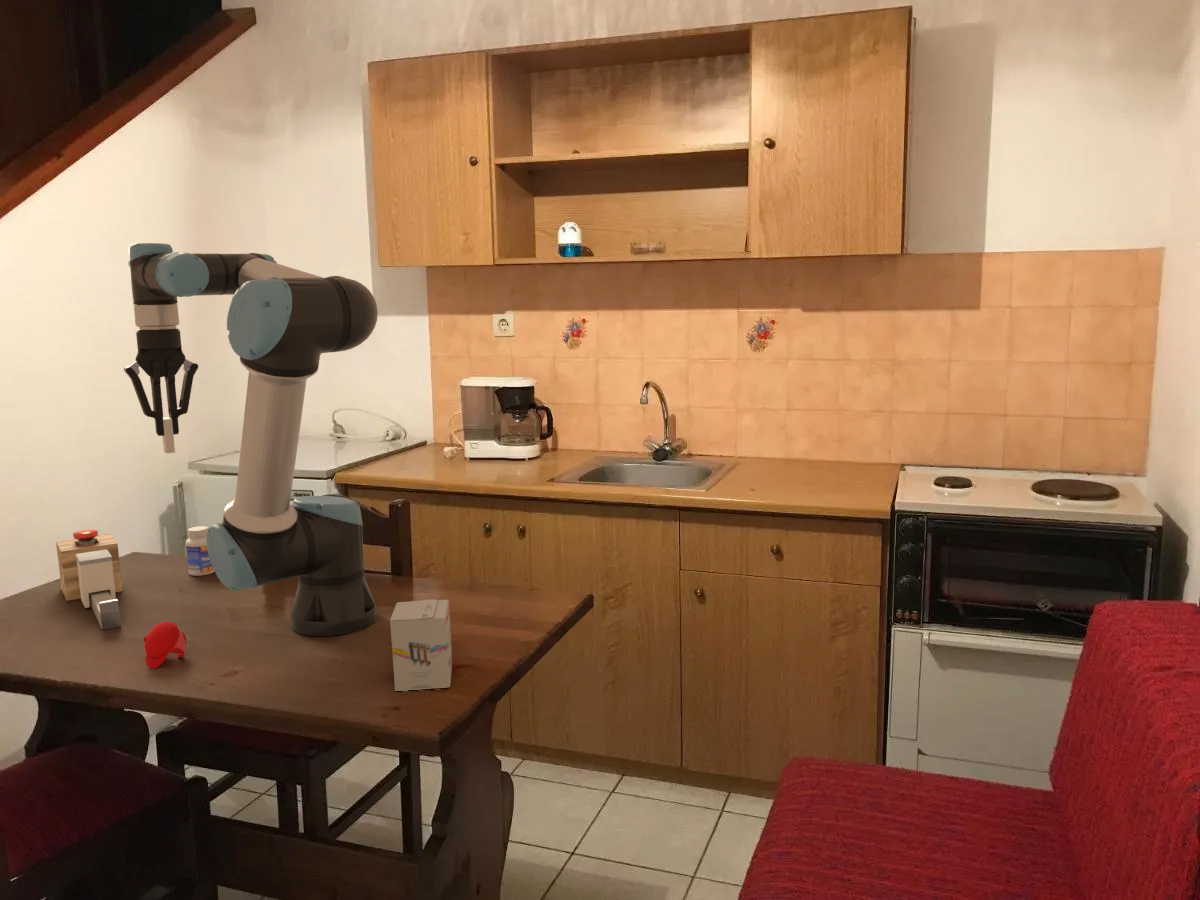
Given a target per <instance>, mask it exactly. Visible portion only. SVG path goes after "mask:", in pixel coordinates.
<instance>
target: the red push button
mask: <svg viewBox="0 0 1200 900" xmlns="http://www.w3.org/2000/svg"><path fill="white" fill-rule="evenodd" d="M98 535H99V531H98V530H97V529H82V530H78V531H75V532H73V533H72V537H73V538H72V539H78V546H81V545H88V544H95V537H96V536H98Z"/></svg>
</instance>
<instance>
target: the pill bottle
mask: <svg viewBox="0 0 1200 900" xmlns="http://www.w3.org/2000/svg"><path fill="white" fill-rule="evenodd" d="M208 529H209V527H208V526H206V525H205V526H201V525H199V526H193V527H190V528H188V529H187V535H188V537H189V538H187V539H186V541H185V551H186V553H185V554H186V562H187V573H188V574H189V575H190V576H195V577H198V576H199V577H200V576H207V575H211V574H214V572H215V571H214V568H213V566H212V563H211V561H210V558H209V554H208V550H207V543H206V535H207V531H208Z"/></svg>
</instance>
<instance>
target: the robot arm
mask: <svg viewBox="0 0 1200 900" xmlns="http://www.w3.org/2000/svg"><path fill="white" fill-rule="evenodd" d="M127 264H128V265H127V266H128V268H129V274H130V283H131V291H132V292H131V293H132V301H133V303H132V304H133V312H134V313H133V315H134V324H135V326H136V327H138V329H137V330H136V331H135V335H136V346H137V354H136V357H135V361H134V362H133V363H131V364H130V365H126V366H125V367H124V368H123V372H124V373H125V374H126V375H127V376H128V378H129V379H130V380H131V383H132V386H133V388H134V391H135V393H136V397H137V399H138V403H139V404H140V407H141V410H142V412H143V414H144V416H146V417H148V418H153V419H154V423H155V433H156V435H157V436H158V437H161V436H162V444H163V445H162V446H163V452H164V453H165V454H175V453H176V449H175V448H176V447H175V437H174V435H179V432H180V429H179V428H180V427H179V417H180V416H182V415H185V414H187V413H188V411H189V405H190V399H191V394H192V388H193V381H194V376H195V374H196V372H197V371H198V369H199V364H198V363H197V362H192V361H190V360H189V359H187V358H186V355H185V353H184V352H183V347H182V338H181V330H180V329H179V328H177V327H178V326H179V325H180V316H179V315H180V314H179V307H178V297H179V298H183V297H186V298H187V297H194V296H198V297H199V296H222V295H226V296H227V295H228V296H229V295H233V296H232V298H231V300H230V302H229V306H228V311H227V315H226V330H227V331H229V333H228V336H227V337H228V341H229V344H230V346H231V348H232V350H233V352H234V353H235V354H236V355H237V356H238V357H239V362H240V364H242V366H243V367H244V368H245V369H246V370H247V371H248V378H247V387H246V397H245V403H244V414H243V425H242V433H241V441H240V443H241V444H240V452H239V460H238V470H237V471H238V472H237V480H236V488H235V497H234V499H232V500H230V501H229V502H227V504H226V505H225V506H224V510H223V520H222V522H221V523H220V522H219V523H218V522H216V523H215V524H212V525H211V526H209V527H208V531H207V535H206V543H207V550H208V554H209V558H210V561H211V563H212V566H213V568H214V572H215V574H216V576H217V578H218V579H219V581H220V582H221V584H223V585H224V586H225V587H226V588H228V589H230V590H232V591H243V590H247V589H256V588H258V587H260V586H264V585H267V584H268V585H269V584H272V583H276V582H279V581H280V582H281V581H284V580H289V579H291V578H292V579H293V578H295V577H297V579H298V582H297V583H298V584H297V588H296V592H295V597H294V600H293V603H292V607H291V611H290V625H291V628H292V630H293V631H294V632H297V633H299V634H302V635H305V636H314V637H329V636H331V637H332V636H339V635H341V636H342V635H345V634H346V635H347V634H350V633H354V632H358V631H361V630H364V629H366V628H368V627H370V626H371V625H373V624H374V623H375V622H376V621H377V620H378V619H377V618H378V616H377V615H378V614H377V613H378V612H377V611H378V610H377V604H376V602H375V599H374V597H373V594H372V592H371V590H370V587H369V585H368V582H367V580H366V576H365V558H364V540H363V526H364V522H363V520H362V519H363V518H362V512H361V508H360V507H361V506H360V505H359V504H358V502H357V501H355V500H353V499H350V498H347V497H341V496H335V495H334V496H333V495H306V496H298V497H296V498H294V499H293V501H292V504H291V498H292V491H293V482H294V477H295V476H294V474H295V468H296V467H295V466H296V459H297V453H298V446H299V438H300V430H301V423H302V415H303V410H304V409H303V408H304V401H305V392H306V386H307V379H309V378H311V377H313V376H314V375H316V374H317V372H318V370H319V364H320V359H321V355H322V354H328V353H337V352H345V351H348V350H352V349H354V348H356V347H358V346H360V345H361V344H363V343H364V342H365V341H366V340H367V339H368V338H369V337H370V336H371V335H372V333H373V331H374V330H375V328H376V325H377V321H378V313H379V312H378V311H379V310H378V306H377V302H376V299H375V297H374V295H373V294H372V292H371V291H370V290H369V289H368V288H367V286H365V285H364V284H362V283H361V282H360V281H357V280H355V279H351V278H348V277H344V276H341V275H340V276H339V275H330V276H327V277H322V276H319V275H316V274H312V273H309V272H306V271H302V270H301V269H297V268H293V267H289V266H286V265H284V264H279V263H278V262H277V261H276V260H275V258H274V257H273V256H272V255H270V254H267V253H266V254H265V253H257V252H250V253H209V252H208V253H205V252H203V253H199V252H198V253H197V252H196V253H195V252H194V253H193V252H192V253H189V252H187V251H184V252H183V251H182V252H179V251H177V252H174V250H173V247H172V246H171V245H170V244H169V243H163V242H157V243H155V242H143V243H132V244H130V246H129V247H128V263H127ZM182 366H183V367H182ZM181 367H182V368H183V369H182V370H183V371H184V374H183V378H182V384H181V391H180V398H179V404H178V400H177V391H176V375H177V374H178V372H179V371H180V369H181ZM140 368H141V369H142V370H143V371H144V373H145V374H146V375H147V376H148V377H149V380H150V386H151V398H152V408H151V404H150V402H149V399H148V395H147V394H146V391H145V388H144V386H143V383H142V380H141V378H140V376H139V374H140V371H141V370H140ZM161 378H164V381H165V388H166V391H165V392H166V399H167V401H166V402H167V411H168V417H167V416H166V417H164V410H163V397H162V387H161V382H162V381H161ZM152 409H153V410H152Z"/></svg>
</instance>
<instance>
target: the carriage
mask: <svg viewBox="0 0 1200 900" xmlns="http://www.w3.org/2000/svg"><path fill="white" fill-rule="evenodd" d="M76 559H77V568H78V577H79V586H80V595H81V598H80V601H81V602H82V605H83V607H84V608H85V609H87V608H90V607H91V605H90V603H89V596H88V593H92V592H98V591H104V590H108V592H109V594H110V595H111V597H112V599H117V596H116V592H115V585H114V576H113V566H112V556H111V555H110V553H109V552H108V550H107V549H106V550H100V551H93V552H86V553H80V554H76Z"/></svg>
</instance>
